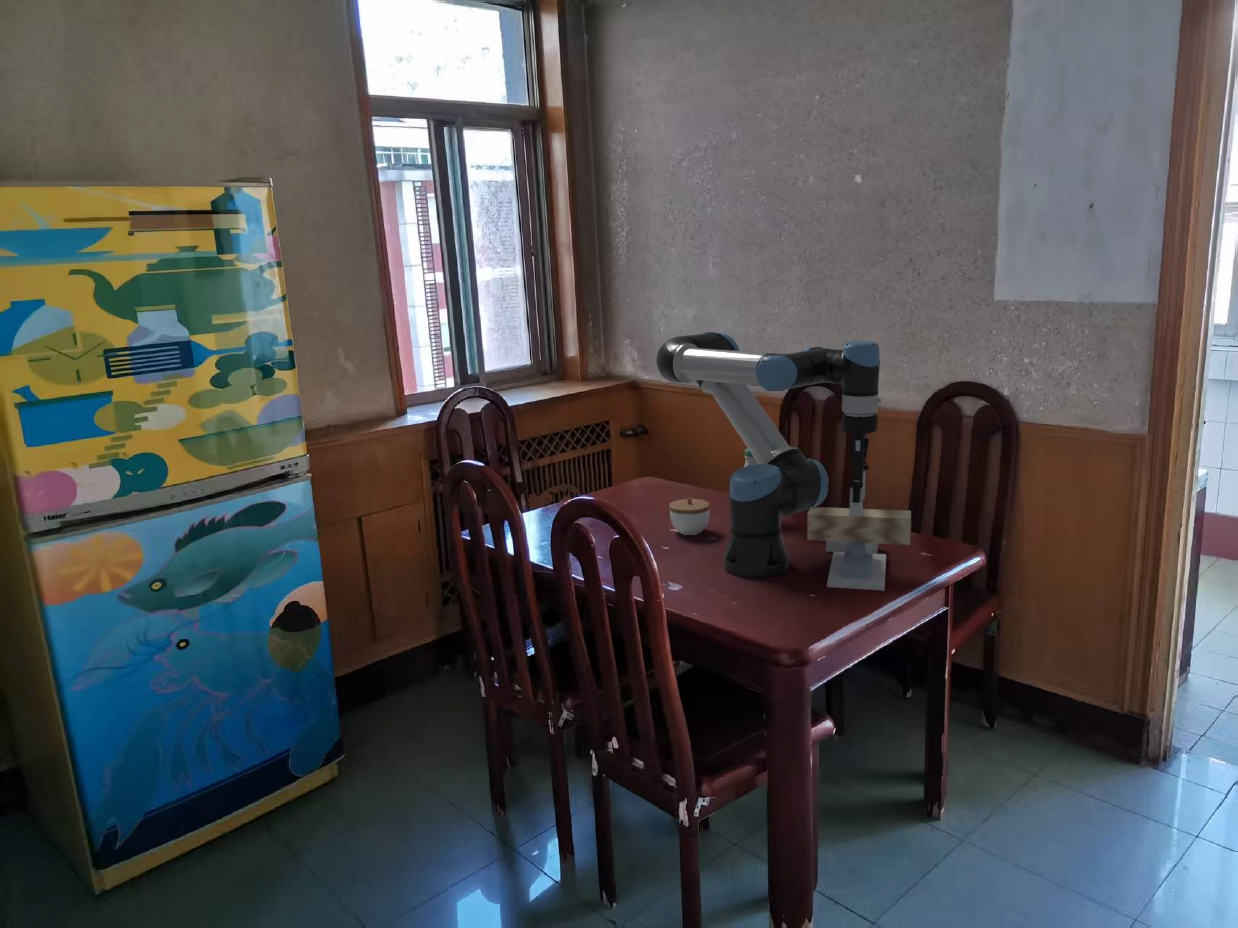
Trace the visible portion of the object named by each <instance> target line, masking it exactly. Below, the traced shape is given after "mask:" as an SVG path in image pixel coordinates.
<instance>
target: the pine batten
mask: <svg viewBox="0 0 1238 928" xmlns="http://www.w3.org/2000/svg"><path fill="white" fill-rule="evenodd" d="M849 510H850V507H849V508H848V507H847V508H846V507H826V506H825V507H823V506H822V507H820V506H819V507H818V506H816V507H810V509H809V510H808V512H807V532H806V533H807V541H822V542H823V541H824V542H826V541H839V542H860V543H878V544H879V545H882V544H884V545H885V544H887V545H903V546H905V545H906V546H911V536H912V535H911V531H912V512H911V510H905V509H904V510H902V509H901V510H899V509H898V510H897V509H877V508H874V509H873V508H863V513H862V517H857V516H849Z"/></svg>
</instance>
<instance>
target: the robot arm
mask: <svg viewBox="0 0 1238 928" xmlns="http://www.w3.org/2000/svg"><path fill="white" fill-rule="evenodd" d="M880 355H881V354H880V345H879V344H878V343H876V342H875V341H872V340H865V341H863V340H852V341H847V342H846V343H844V345H843V349H838V348H837V349H836V348H827V347H826V348H825V347H822V346H816V347H815V346H813V347H812V346H807V347H805V348H803V349H802V350H801V351H797V352H792V353H791V352H790V353H772V352H761V351H759V352H758V351H742V350H740V348H739V346H738V344H737V342H736V340H735V339H734V338H732V337H731V335H730V334H729V335H728V334H726V333H724V332H721V331H719V332H717V331H715V332H714V331H707V332H703V333H700V334H699V333H697V334H690V335H679V336H674V337H672V338H669V339H668V340H667V341H665V342H664V343H663V344H661V346H660V347H659V349H658V351H657V354H656V358H655V359H656V361H655V362H656V366H657V370H658V371H659V374H660V375H661V376H662V378H664V379H665V380H667V381H669V382H672V383H676V384H677V383H682V384H683V383H684V384H690V383H693V382H696V383H697V385H698V386H699V388H700V389H701V391H702V392H703V393H705V394H711V395H712V397H713V399H714V400H715V401H716V403H717V404H718V405H719V407H720V409H721V410H722V412H723V413H724V415H725V416H726V418H727V419H728V421H729V422H730V423H731V425H732V426H733V428H734V430H735V432H737V434H738V436H739V437H740V439H741V440H742V442H743V443H744V445H745V446H746V447H747V448H748V449H749V451H750V452H751V453H752V455H753V456H754V458H755V459H756V461H757V462H758V464H757V465H755V466H754V465H750V466H746V467H744V466H743V467H740V468H739V469H737V470H736V471H734V472H733V473H732V474H731V476H730V480H729V490H728V494H729V511H730V512H729V513H730V514H729V515H730V536H729V540H728V542H727V546H726V549H725V551H724V556H723V568H724V570H726V571H727V572H729V573H730V574H733V575H736V576H739V577H746V578H768V577H775V576H778V575H781V574H784V573H785V572H786V571H788V570H789V568H790V557H789V554H788V551H787V548H786V545H785V541H784V539H783V536H782V518H785V517H789V516H791V515H795V514H799V513H801V512H807V511H808V512H809V509H810V507H818V506H819V505H821V504H822V503H823V502H824V501H825V500H826V497H827V495H828V493H829V492H828V491H829V488H828V487H829V476H828V472H827V471H826V468H825V467H824V465H823V464H821V462H819V461H818V460H816V459H815V460H814V459H812V458H806V457H805V455H804V454H803V452H802V451H801V450H800V449H799V448H798V447H794V446H790V445H789V444H788V442H787V440H785V438H784V436H783V435H782V434H781V432H780V431H779V429H778V428H777V427H776V425H775V424H774V422H773V421H772V419H771V418H770V416H769V415H768V414H767V411H765V409H764V408H763V405H762V404H761V403H760V402H759V401H758V399H757V398H756V396H755V395H754V393H753V391H751V389H750V388H749V386H754V387H760V388H761V387H762V388H763V389H764V390H765V391H767V392H783V391H784V392H785V391H786V390H789V389H795V388H801V387H805V386H812V385H817V384H824V383H826V384H827V383H828V384H829V383H830V384H838V385H842V396H841V401H842V402H841V412H842V413H843V414H842V415H841V430H842V431H843V432H845V433H847V434H853V437H849V445H848V446H849V449H850V450H849V452H850V453H849V459H850V460H851V462H850V463H851V464H850V482H849V483H847V484H846V488H849V508H850V510H849V516H857V517H862V513H863V509H864V508H863V507H864V506H863V505H864V504H863V503H864V502H863V501H864V499H866V497H865V496H866V471H868V470H869V464H868V465H867V456H868V455H867V453H868V449H869V443H870V441H869V437H867V434H873V433H875V432H877V431H878V424H879V423H878V422H879V421H878V419H879V416H878V414H877V412H878V411H879V404H880V403H881V402H882V399H881V398H880V397H879V380H880V379H879V378H880V367H881V360H880ZM747 448H746V449H747Z"/></svg>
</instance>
